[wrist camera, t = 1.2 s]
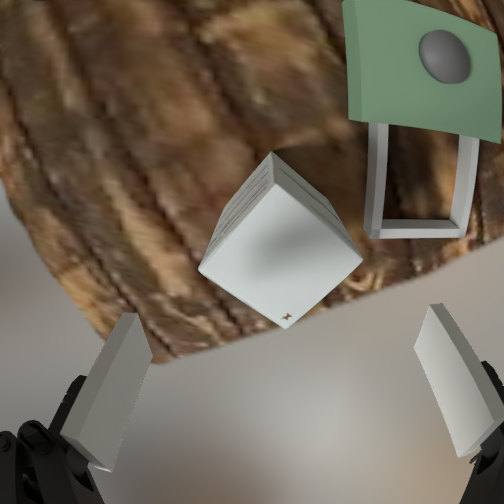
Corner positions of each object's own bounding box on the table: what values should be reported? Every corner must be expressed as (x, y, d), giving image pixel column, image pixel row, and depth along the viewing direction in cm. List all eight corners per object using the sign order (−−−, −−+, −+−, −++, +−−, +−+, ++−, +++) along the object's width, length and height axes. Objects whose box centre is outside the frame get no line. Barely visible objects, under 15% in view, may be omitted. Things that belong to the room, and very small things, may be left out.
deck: (341, 3, 19) (356, -16, 14) (475, 37, 18) (503, 33, 13) (344, 228, 29) (358, 252, 25) (465, 228, 28) (489, 248, 24)
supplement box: (329, 198, 28) (369, 262, 17) (278, 249, 31) (284, 334, 20) (271, 147, 26) (277, 179, 15) (221, 205, 29) (194, 273, 18)
